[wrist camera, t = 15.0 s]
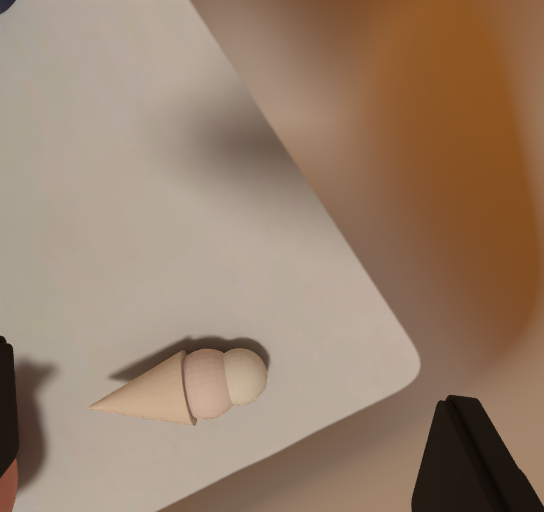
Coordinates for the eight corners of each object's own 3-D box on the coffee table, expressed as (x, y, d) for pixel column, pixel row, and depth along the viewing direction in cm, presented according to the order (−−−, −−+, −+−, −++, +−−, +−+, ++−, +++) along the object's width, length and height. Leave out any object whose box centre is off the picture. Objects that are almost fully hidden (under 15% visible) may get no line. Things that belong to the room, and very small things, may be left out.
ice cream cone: (96, 376, 44) (261, 342, 44) (101, 448, 41) (274, 411, 42) (68, 365, 38) (258, 326, 39) (72, 448, 36) (273, 405, 36)
